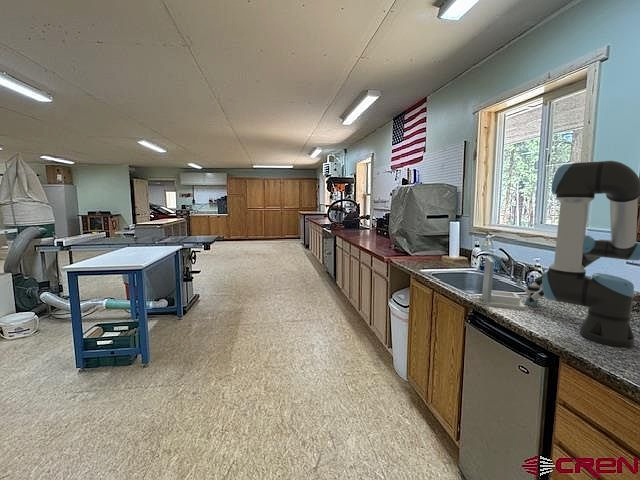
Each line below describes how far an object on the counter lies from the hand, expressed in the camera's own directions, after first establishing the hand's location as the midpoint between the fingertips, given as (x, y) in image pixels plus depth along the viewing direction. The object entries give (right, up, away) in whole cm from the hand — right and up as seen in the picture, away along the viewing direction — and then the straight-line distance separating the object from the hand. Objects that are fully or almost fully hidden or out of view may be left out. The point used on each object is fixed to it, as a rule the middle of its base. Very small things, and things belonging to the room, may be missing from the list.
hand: (528, 295), depth 162 cm
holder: (-12, -4, +2) cm, 13 cm away
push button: (+2, -5, 0) cm, 5 cm away
